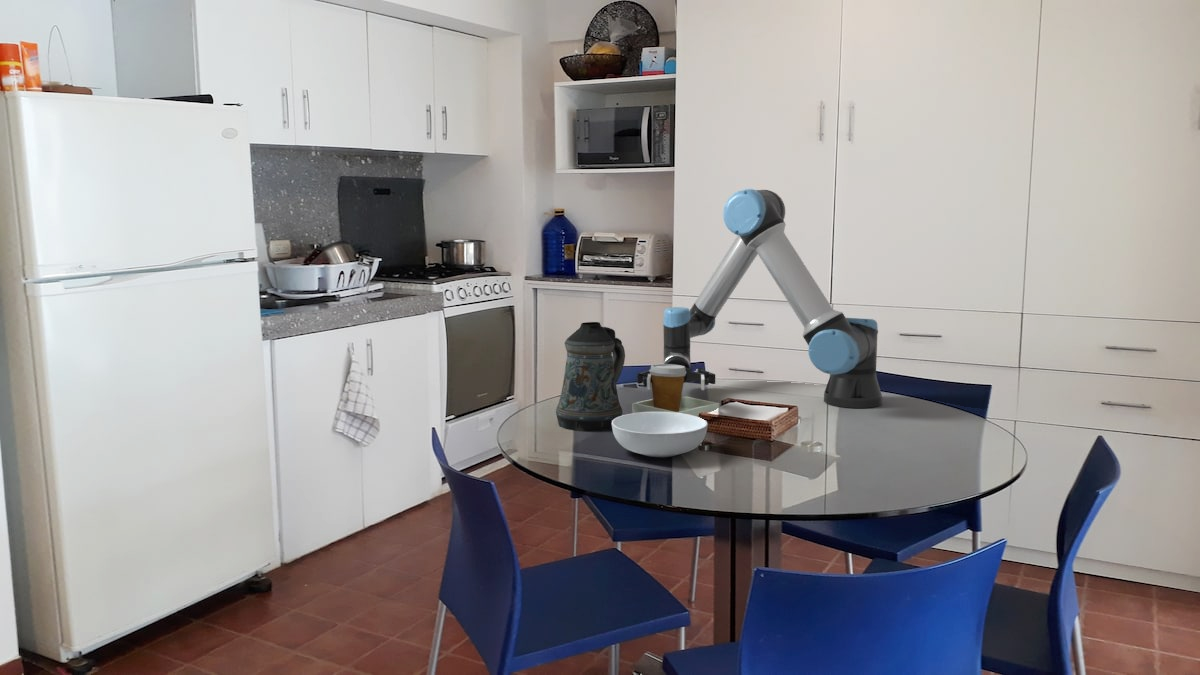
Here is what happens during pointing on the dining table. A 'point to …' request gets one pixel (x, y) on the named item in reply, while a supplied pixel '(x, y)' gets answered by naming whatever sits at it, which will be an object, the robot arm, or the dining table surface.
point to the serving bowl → (659, 432)
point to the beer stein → (591, 379)
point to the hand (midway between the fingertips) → (675, 384)
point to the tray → (686, 406)
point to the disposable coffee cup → (667, 385)
